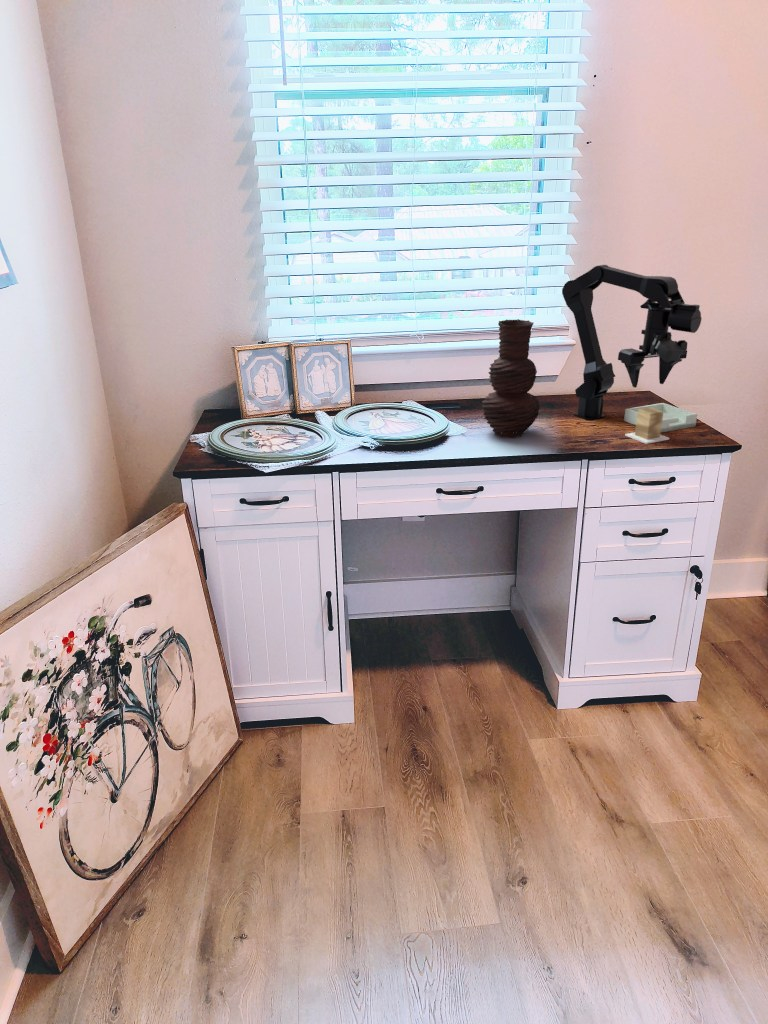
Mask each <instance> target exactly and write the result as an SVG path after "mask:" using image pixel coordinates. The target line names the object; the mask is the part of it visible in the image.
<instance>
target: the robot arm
mask: <svg viewBox="0 0 768 1024" xmlns="http://www.w3.org/2000/svg"><path fill="white" fill-rule="evenodd" d="M602 283H606V284H608V285H613V286H617V287H620V288H623V289H628V290H631V291H635V292H637V293H639V294H640V295H641V296H642V297H643V298H646V301H644V302H643V303H642V304H641V305H640V309H644V310H645V309H646V310H647V315H646V321H645V327H644V329H641V332H640V333H641V335H643V342H642V344H639V347H638V349H639V350H638V349H634V348H632V347H631V348H624V349H621V350H620V351H619V352H618V354H617V355H618V357H617V360H618V361H620V362H621V364H624V367H625V368H626V372H627V374H628V377H629V380H630V383H631V385H632V388H634V389H635V388H637V387H638V385H639V384H638V383H639V377H640V371H641V369H642V368H643V367H644V365H645V364H644V363H643V362H644V361H645V359H650V358H658V359H659V360H658V361H659V364H658V379H659V380H658V381H659V382H658V383H659V384H660V385H664V383H665V382H666V380H667V378H668V376H669V375H670V373H671V371H672V369H673V368H674V366H675V365H677V364H678V363H681V362H683V359H687V355H688V342H687V341H686V340H685V339H683V340H682V339H681V340H678V341H677V340H672V337H673V336H672V332H671V331H669V328H670V329H671V330H672V331H679V332H685V333H686V332H687V333H691V334H695V333H696V332H697V331H698V330H699V328H700V326H701V323H702V313H701V310H700V307H701V306H700V305H699V304H686V303H685V300H684V298H683V297H682V295H681V292H680V291H679V284H678V282H677V279H676V278H675V277H672V276H663V275H659V276H658V275H651V276H650V275H642V274H639V273H636V272H631V271H627V270H623V269H619V268H615V267H611V266H609V265H608V264H600V265H595V266H593V267H592V268H591V269H589V270H588V271H587V272H585V273H583V274H582V275H579V276H578V277H576V278H575V279H571V280H568V281H566V282H565V283H564V285H563V286H562V288H561V294H562V298H563V300H564V302H565V305H566V306H567V307H568V309H569V310H570V311H571V313H572V314H573V316H574V320H575V325H576V330H577V333H578V334H577V335H578V338H579V341H580V345H581V349H582V355H583V358H584V362H585V363H584V369H583V374H582V375H583V382H582V384H580V385H579V386H578V387H577V388H576V389H575V390H574V391H575V395H576V398H578V405H577V412H574V413H573V415H574V416H576V417H579V418H581V419H584V420H587V421H590V420H596V419H602V418H605V417H606V415H604V414H603V408H604V396H605V395H606V394H607V393H608V391H609V389H611V388H612V387H613V384H615V377H616V375H615V373H614V368H613V364H612V362H609V363H607V362H606V361H605V360H604V357H603V354H602V350H601V346H600V342H599V338H598V333H597V329H596V325H595V320H594V316H593V311H592V305H593V301H594V290H596V289H598V288H599V287H600V285H602Z"/></svg>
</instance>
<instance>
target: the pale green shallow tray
mask: <svg viewBox="0 0 768 1024" xmlns="http://www.w3.org/2000/svg"><path fill="white" fill-rule="evenodd" d="M645 408H654V409H657V410H660V411H663V419H662V425H661V432H660V434H661V433H666V432H673V431H676V430H683V429H688V428H693V427H696V425H697V417H698V414H697V413H695V412H692V411H689V410H686V409H683V408H679V407H677V406H674V405H671V404H668V403H666V402H665V403H664V402H660V403H653V404H649V405H648V404H647V405H642V406H635V407H630V408H625V410H624V418H623V421H624V422H627V423H629V424H631V425H635V426H636V422H637V415H638V410H639V409H645Z"/></svg>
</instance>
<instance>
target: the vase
mask: <svg viewBox="0 0 768 1024" xmlns="http://www.w3.org/2000/svg"><path fill="white" fill-rule="evenodd" d="M497 325H498V326H499V328H498V330H499V333H498V336H499V337H498V339H499V340H500V341H499V342H498V343H499V346H498V348H499V350H498V353H499V357H497V359H494V361H493V363H491V364H490V367H488V368H489V369H488V370H490V371H488V374H489V378H490V380H489V383H490V384H491V385H490V386H491V387H492V390H494V391H493V392H490V393H488V395H487V396H485V397H484V400H482V401H481V403H482V409H481V411H482V413H483V414H482V415H483V416H484V420H486V423H487V424H488V425H489V427H490V428H492V431H493V432H494V435H495V436H497V437H500V438H507V439H514V438H519V437H521V438H522V437H523V435H524V434H525V433H526V431H527V430H529V428H530V427H531V426H532V425H533V424H534V422H535V421H536V419H537V418H538V416H539V411H540V407H541V406H540V404H539V402H540V401H539V399H538V398H537V397H536V396H535V395H534V394H532V393H529V392H530V391H531V390H532V388H533V387H534V385H535V382H536V379H537V376H536V375H537V372H538V370H537V367H536V365H535V363H534V361H533V360H531V359H529V358H528V357H529V353H530V345H529V344H530V342H531V336H532V328H533V326H534V322H531V321H530V320H523V319H505V320H498V324H497Z"/></svg>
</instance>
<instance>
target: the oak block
mask: <svg viewBox="0 0 768 1024" xmlns="http://www.w3.org/2000/svg"><path fill="white" fill-rule="evenodd" d="M662 419H663V411H660V410H657V409H654V408H645V409H639V410H638V415H637V422H636V425H635V429H634V430H635V431H634V432H635V435H636V436H639V437H641V438H644V439H647V440H648V439H653V438H658V437H660V435H661V433H662V432H661V425H662ZM660 432H661V433H660Z"/></svg>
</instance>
